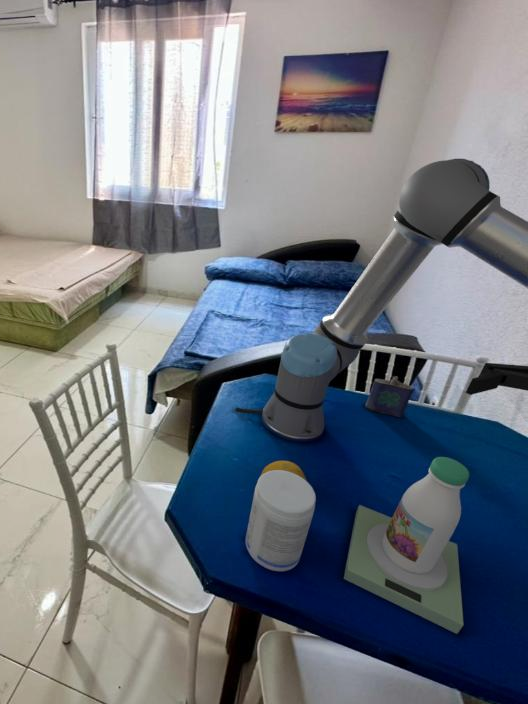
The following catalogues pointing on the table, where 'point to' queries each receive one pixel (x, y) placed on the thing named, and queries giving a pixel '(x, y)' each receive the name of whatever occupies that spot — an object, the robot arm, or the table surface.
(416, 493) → the milk bottle
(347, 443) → the table surface
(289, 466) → the fruit
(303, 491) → the supplement tub
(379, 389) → the flask
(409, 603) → the scale
